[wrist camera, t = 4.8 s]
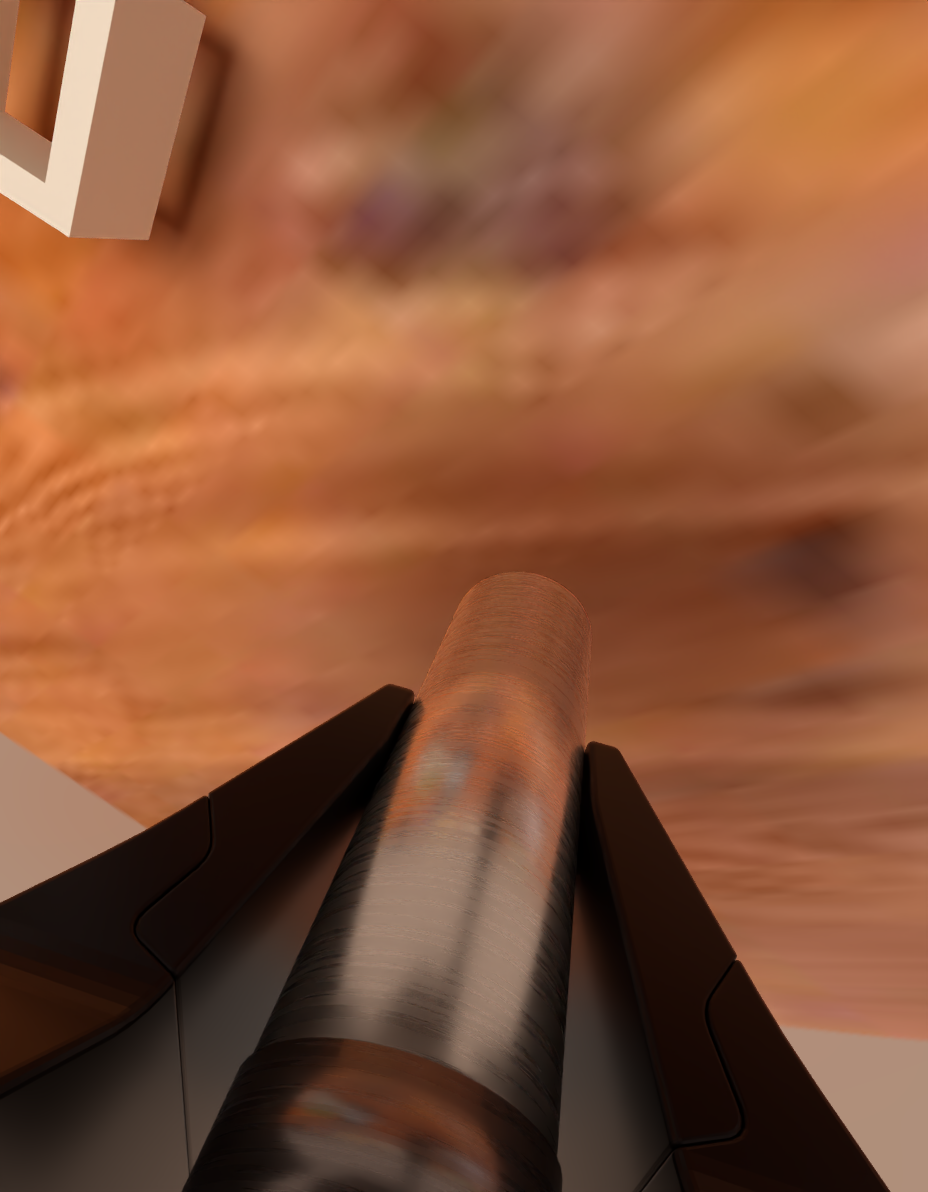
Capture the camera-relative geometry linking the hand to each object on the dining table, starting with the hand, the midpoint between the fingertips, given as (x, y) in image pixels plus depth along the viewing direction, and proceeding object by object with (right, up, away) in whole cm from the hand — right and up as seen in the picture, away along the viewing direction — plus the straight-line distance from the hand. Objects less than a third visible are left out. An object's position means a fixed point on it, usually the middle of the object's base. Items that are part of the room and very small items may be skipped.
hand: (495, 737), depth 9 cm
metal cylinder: (+1, +1, +3) cm, 3 cm away
